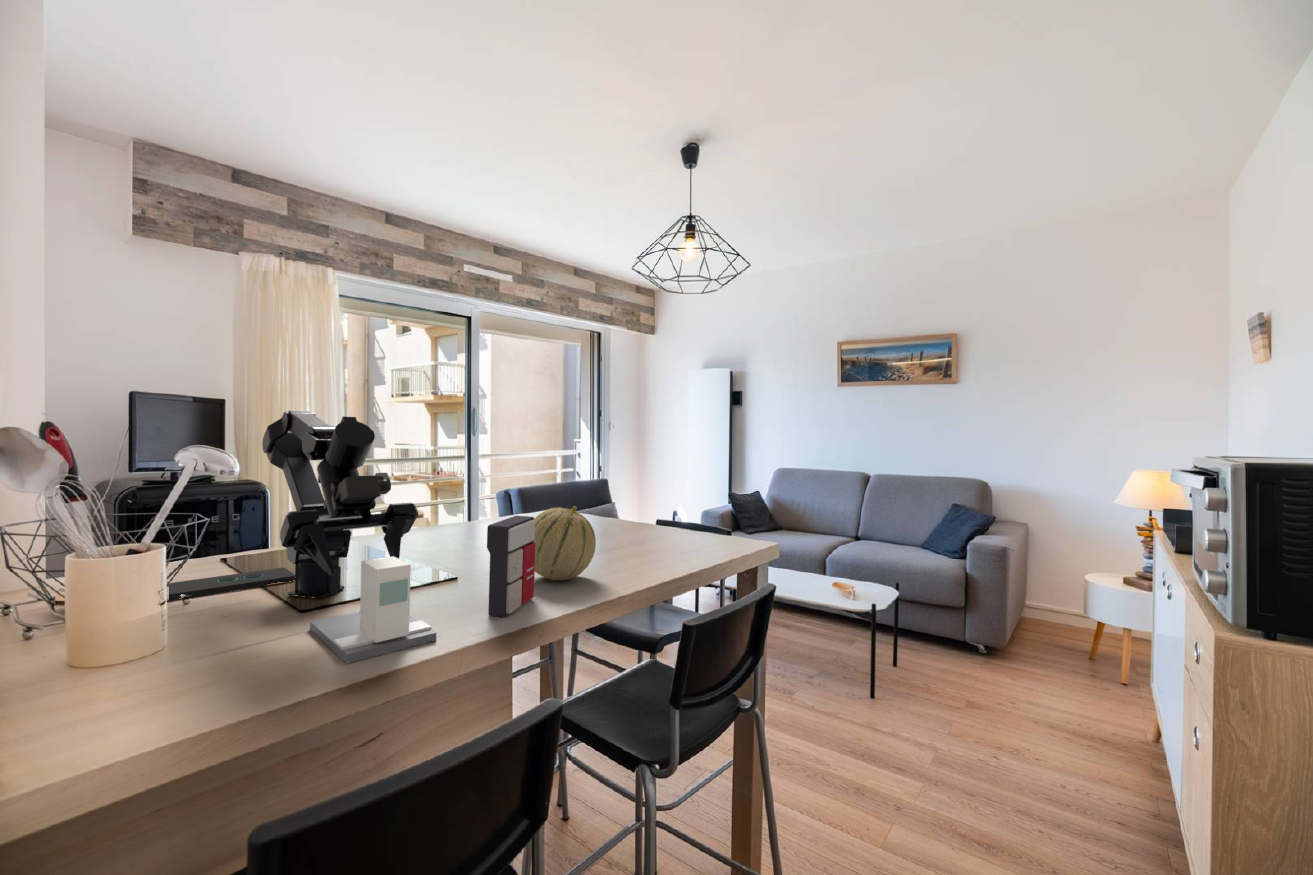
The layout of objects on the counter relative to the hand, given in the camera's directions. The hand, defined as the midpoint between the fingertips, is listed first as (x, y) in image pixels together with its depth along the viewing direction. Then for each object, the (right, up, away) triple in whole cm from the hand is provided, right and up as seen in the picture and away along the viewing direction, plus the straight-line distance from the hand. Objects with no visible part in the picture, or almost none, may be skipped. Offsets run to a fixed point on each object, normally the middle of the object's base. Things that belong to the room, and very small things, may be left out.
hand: (365, 568), depth 87 cm
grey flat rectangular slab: (+2, -9, -2) cm, 10 cm away
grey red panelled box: (+19, -10, +13) cm, 25 cm away
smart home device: (-35, -8, +18) cm, 40 cm away
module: (+5, -8, -5) cm, 11 cm away
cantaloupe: (+24, -9, +31) cm, 40 cm away
